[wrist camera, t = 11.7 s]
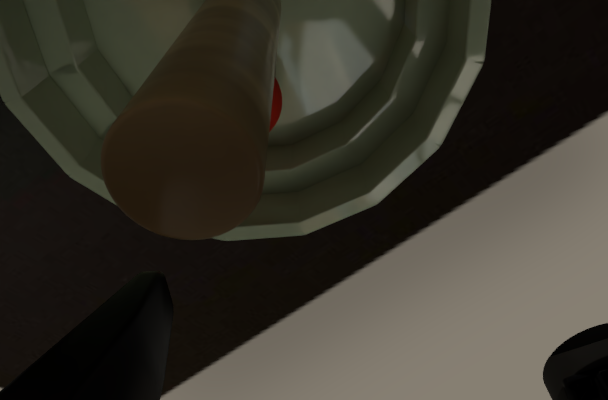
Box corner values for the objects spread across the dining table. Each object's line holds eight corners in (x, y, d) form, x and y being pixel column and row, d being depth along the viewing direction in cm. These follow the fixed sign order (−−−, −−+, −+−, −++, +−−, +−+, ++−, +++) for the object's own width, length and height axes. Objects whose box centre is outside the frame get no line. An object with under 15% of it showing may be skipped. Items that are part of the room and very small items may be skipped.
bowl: (492, 80, 20) (546, 133, 16) (192, 217, 23) (170, 292, 19) (343, -391, 13) (367, -522, 9) (-53, -102, 16) (-174, -95, 12)
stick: (291, 26, 18) (289, 215, 8) (230, 50, 18) (152, 259, 8) (265, -43, 17) (220, 73, 7) (200, -16, 17) (64, 134, 7)
